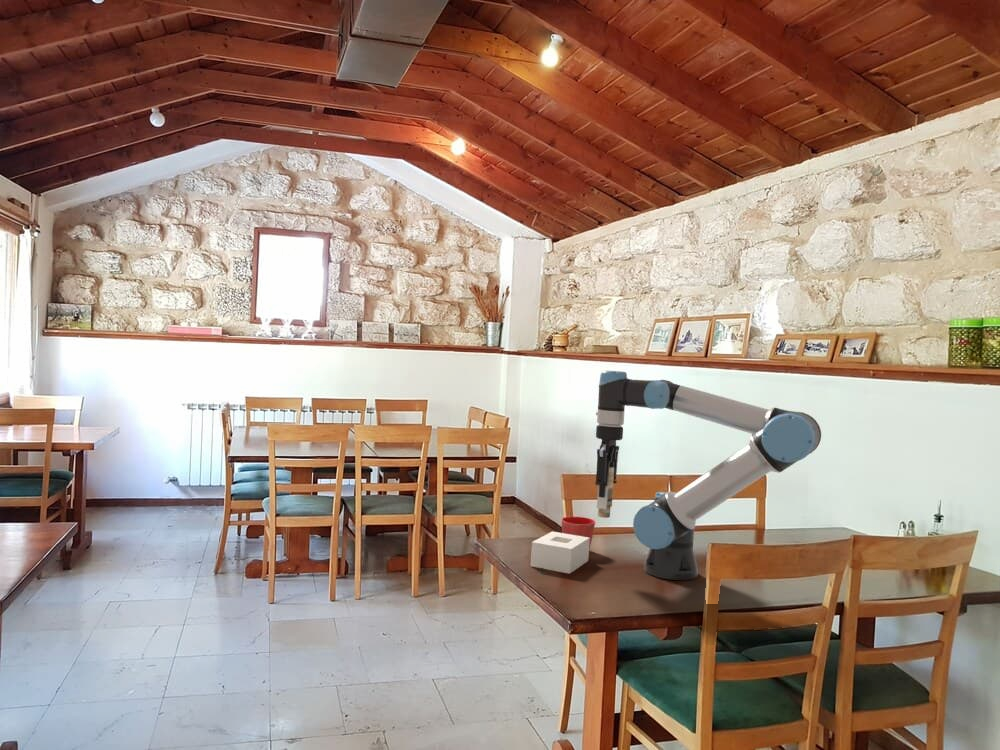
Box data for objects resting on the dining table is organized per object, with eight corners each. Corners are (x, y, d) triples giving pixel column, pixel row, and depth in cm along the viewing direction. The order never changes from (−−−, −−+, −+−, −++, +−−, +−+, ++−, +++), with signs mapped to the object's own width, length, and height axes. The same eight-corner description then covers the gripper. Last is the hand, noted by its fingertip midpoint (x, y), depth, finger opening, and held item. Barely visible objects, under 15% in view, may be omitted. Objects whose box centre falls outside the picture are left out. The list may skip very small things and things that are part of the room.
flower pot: (555, 552, 232) (557, 521, 231) (564, 544, 242) (565, 514, 242) (589, 557, 228) (591, 525, 228) (596, 548, 239) (598, 518, 238)
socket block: (588, 560, 224) (589, 537, 224) (569, 573, 210) (571, 548, 209) (551, 554, 229) (552, 531, 229) (530, 566, 215) (531, 542, 215)
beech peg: (613, 516, 214) (616, 467, 213) (608, 518, 210) (611, 469, 209) (599, 513, 215) (602, 465, 215) (594, 516, 212) (597, 467, 211)
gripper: (606, 422, 221) (601, 500, 222) (587, 425, 206) (581, 510, 206) (631, 424, 218) (625, 504, 219) (613, 428, 202) (608, 514, 203)
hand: (604, 506), depth 213 cm, fingers closed on beech peg, 4 cm apart
